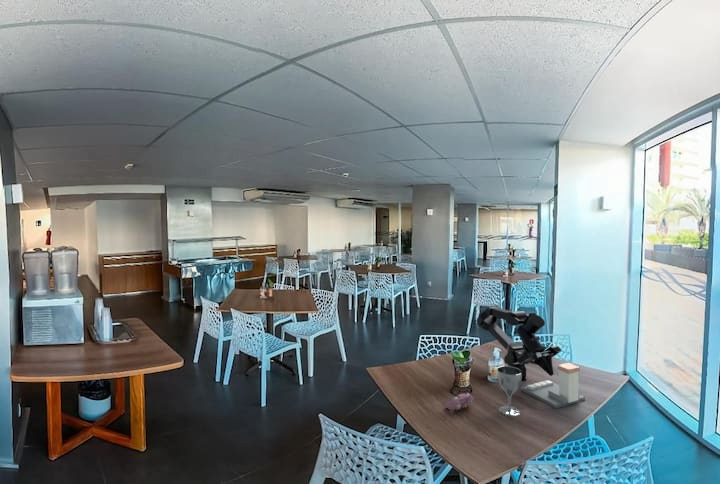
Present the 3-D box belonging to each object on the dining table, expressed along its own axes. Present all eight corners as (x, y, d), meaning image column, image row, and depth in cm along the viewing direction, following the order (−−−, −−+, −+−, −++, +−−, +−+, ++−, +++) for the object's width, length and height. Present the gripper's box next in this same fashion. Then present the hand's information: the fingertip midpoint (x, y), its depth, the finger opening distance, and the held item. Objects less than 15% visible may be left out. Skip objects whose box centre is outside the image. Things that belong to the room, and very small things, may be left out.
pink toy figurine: (451, 417, 129) (457, 403, 126) (443, 406, 133) (449, 393, 130) (471, 409, 134) (477, 396, 131) (463, 399, 137) (469, 386, 134)
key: (557, 397, 135) (557, 365, 134) (568, 394, 137) (568, 362, 136) (568, 403, 131) (568, 369, 130) (579, 400, 133) (579, 366, 132)
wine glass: (520, 407, 132) (520, 367, 131) (522, 418, 124) (522, 375, 123) (497, 404, 134) (497, 364, 133) (498, 415, 127) (497, 373, 126)
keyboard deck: (521, 390, 145) (521, 382, 145) (548, 383, 151) (548, 375, 150) (557, 409, 130) (557, 400, 130) (586, 400, 135) (586, 392, 135)
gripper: (534, 344, 158) (556, 379, 148) (501, 351, 151) (522, 388, 141) (550, 332, 150) (574, 367, 141) (516, 338, 143) (539, 376, 133)
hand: (552, 375), depth 139 cm, fingers closed
